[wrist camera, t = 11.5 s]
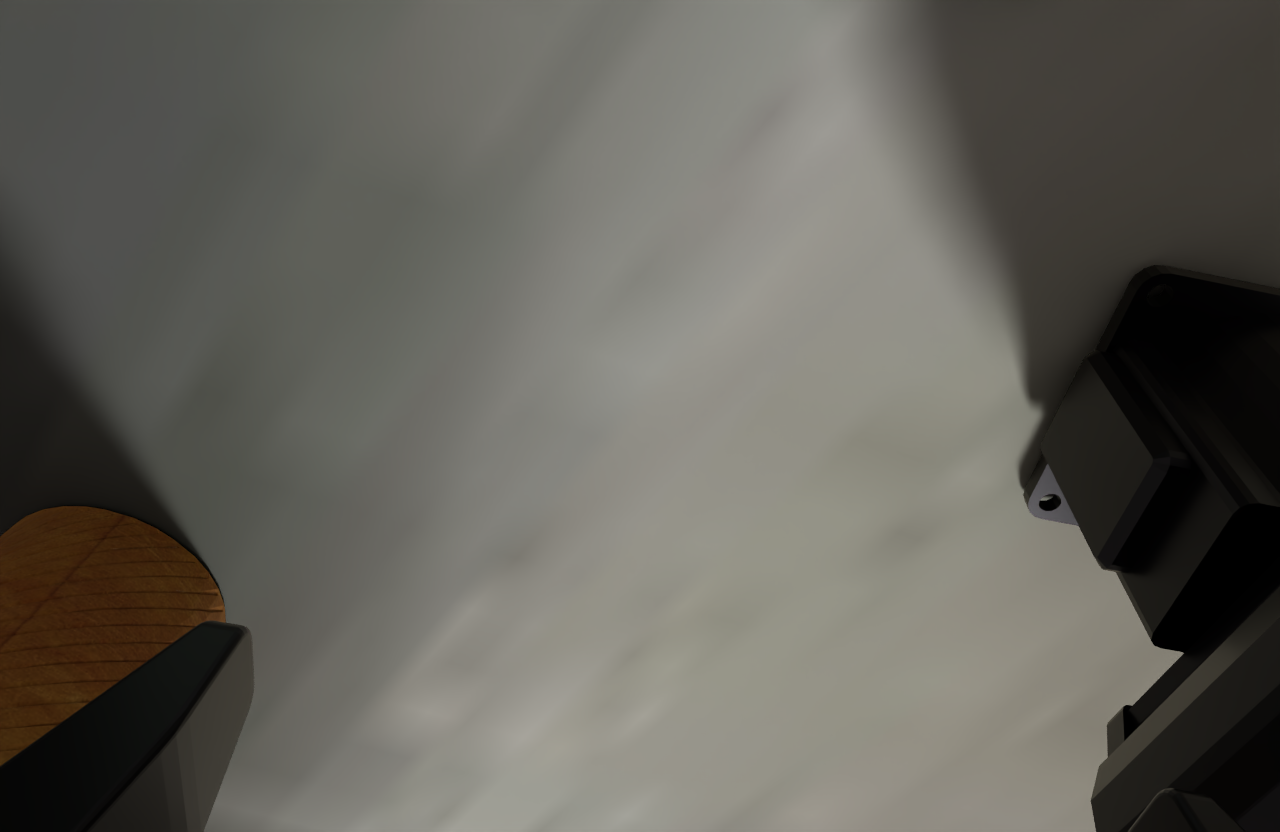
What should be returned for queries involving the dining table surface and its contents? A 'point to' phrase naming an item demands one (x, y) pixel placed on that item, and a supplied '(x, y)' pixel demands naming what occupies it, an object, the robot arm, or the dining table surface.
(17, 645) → the disposable coffee cup
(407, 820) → the dining table surface
